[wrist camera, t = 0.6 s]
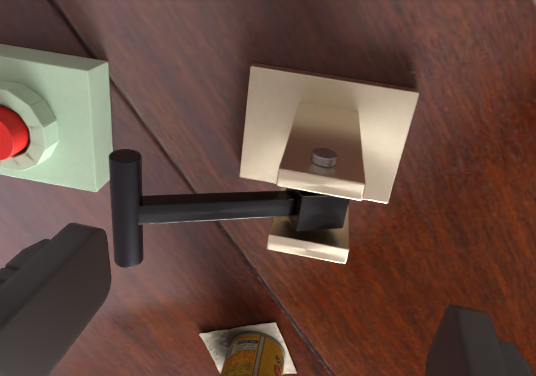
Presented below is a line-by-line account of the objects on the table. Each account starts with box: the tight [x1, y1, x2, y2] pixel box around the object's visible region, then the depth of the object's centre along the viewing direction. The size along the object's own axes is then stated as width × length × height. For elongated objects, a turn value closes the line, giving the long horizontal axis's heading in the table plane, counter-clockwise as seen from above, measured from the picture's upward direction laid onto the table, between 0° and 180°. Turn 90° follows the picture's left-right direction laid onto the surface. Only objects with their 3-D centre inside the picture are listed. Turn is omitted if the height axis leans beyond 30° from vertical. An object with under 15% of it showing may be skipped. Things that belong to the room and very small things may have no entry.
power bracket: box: [240, 63, 420, 264], centre depth 29 cm, size 12×9×13 cm
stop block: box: [0, 44, 113, 192], centre depth 35 cm, size 12×10×5 cm
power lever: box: [109, 149, 350, 268], centre depth 23 cm, size 12×6×2 cm, turn 83°
